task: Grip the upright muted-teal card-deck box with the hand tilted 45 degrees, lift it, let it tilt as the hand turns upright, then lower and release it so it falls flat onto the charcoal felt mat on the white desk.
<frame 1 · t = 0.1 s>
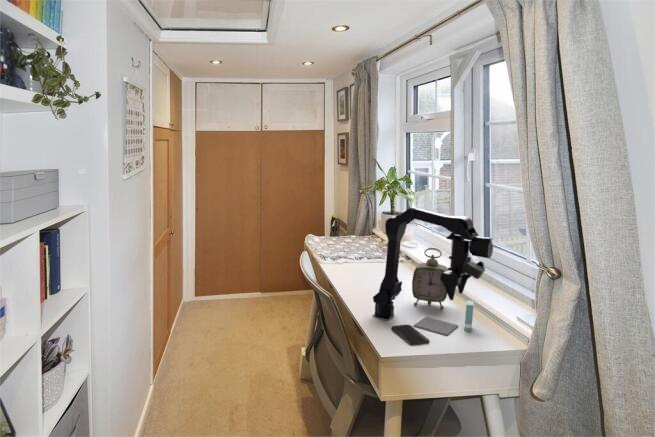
hand: (456, 296, 160), 15 cm above the table, tool pointing down, fingers open, 9 cm apart
felt mat: (435, 326, 170), on the table
deck box: (467, 328, 169), on the table
phone: (409, 336, 161), on the table
tabletop clock: (429, 306, 191), on the table
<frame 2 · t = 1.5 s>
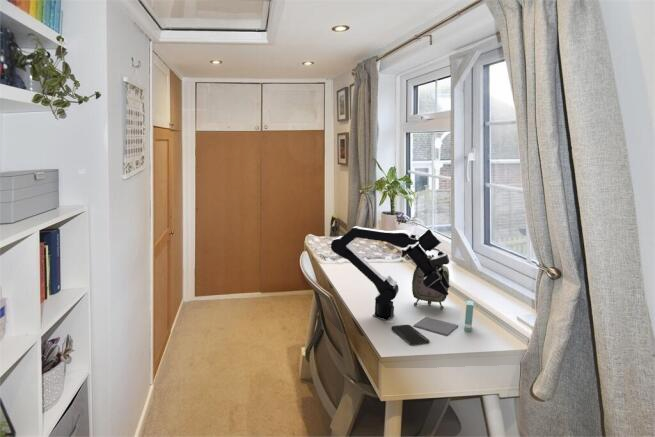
hand: (448, 291, 169), 13 cm above the table, tool tilted 45°, fingers open, 9 cm apart
nothing on the table moved.
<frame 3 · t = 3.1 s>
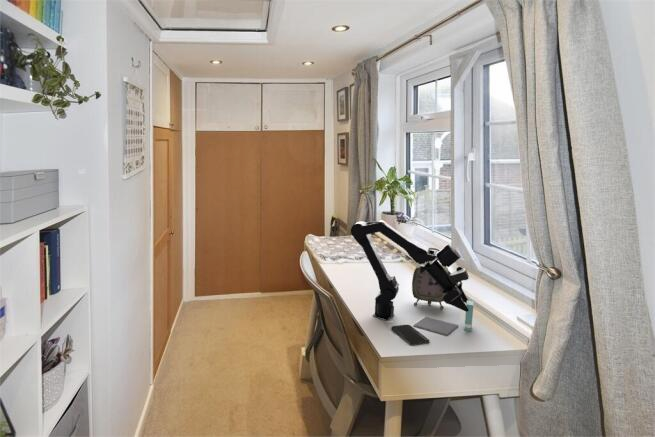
hand: (468, 306, 168), 8 cm above the table, tool tilted 45°, fingers open, 9 cm apart
nothing on the table moved.
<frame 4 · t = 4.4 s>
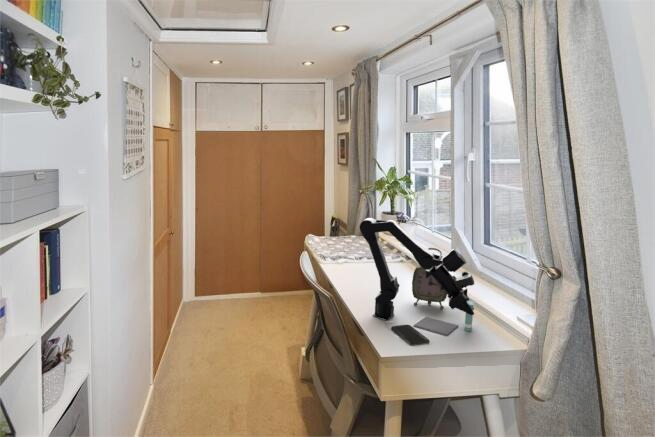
hand: (473, 312, 167), 7 cm above the table, tool tilted 45°, fingers closed on deck box, 5 cm apart
deck box: (467, 328, 169), on the table, touching gripper
everything else where it was.
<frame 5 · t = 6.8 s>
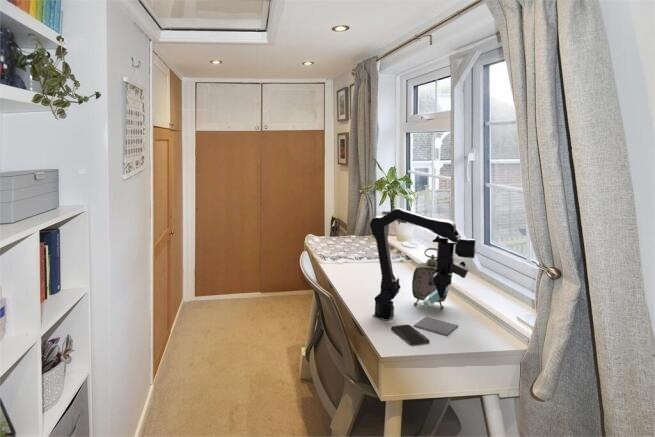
hand: (441, 296, 168), 12 cm above the table, tool pointing down, fingers closed on deck box, 5 cm apart
deck box: (425, 303, 170), point 8 cm above the table, tilted 45°, touching gripper
everything else where it was.
when the fingers open (6 cm above the table, at t = 8.5 s): deck box moves 2 cm and tips over, resting on felt mat.
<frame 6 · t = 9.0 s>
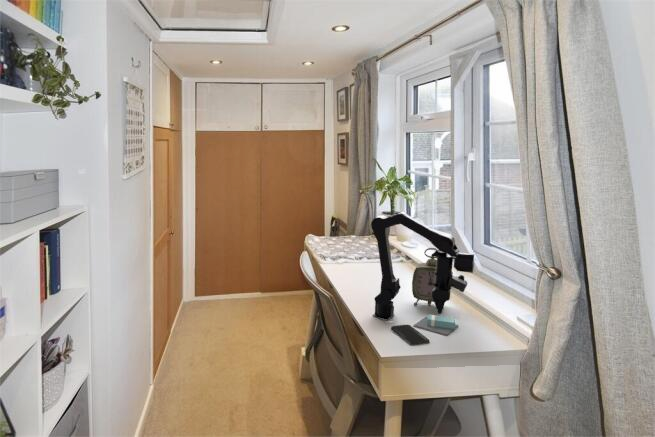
hand: (440, 309, 169), 6 cm above the table, tool pointing down, fingers open, 9 cm apart
deck box: (427, 319, 171), point 2 cm above the table, tilted 90°, touching felt mat
everything else where it was.
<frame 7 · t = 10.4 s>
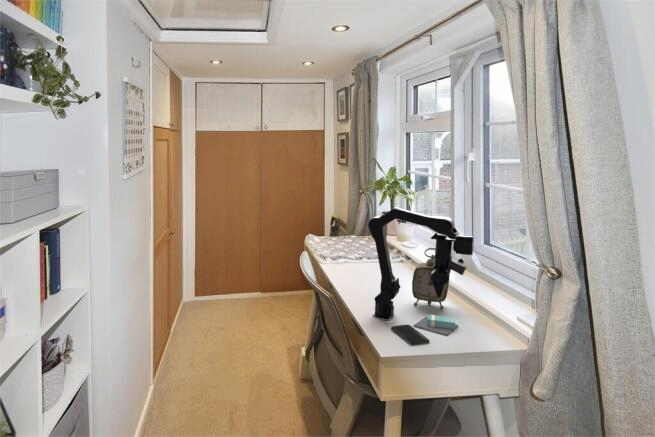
hand: (439, 293, 168), 13 cm above the table, tool pointing down, fingers open, 9 cm apart
nothing on the table moved.
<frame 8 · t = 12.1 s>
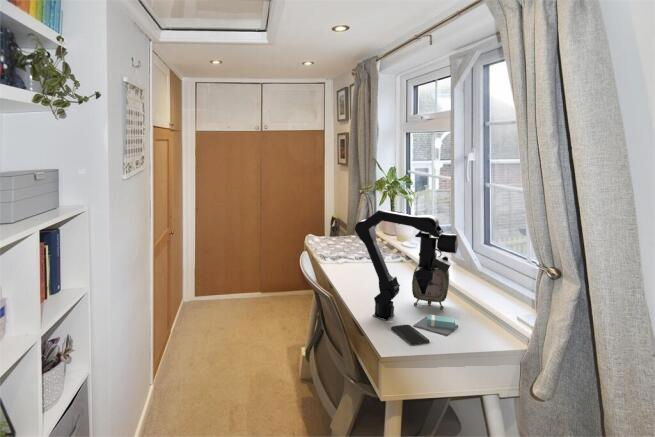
hand: (424, 290, 170), 13 cm above the table, tool pointing down, fingers open, 9 cm apart
nothing on the table moved.
at the end: deck box tilted 90°; deck box 3.4 cm from the felt mat (horizontally); deck box point 1.8 cm above the table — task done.
